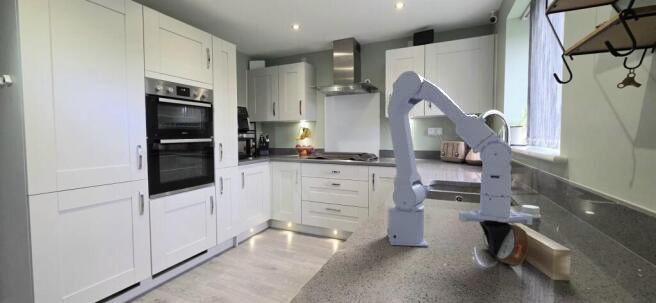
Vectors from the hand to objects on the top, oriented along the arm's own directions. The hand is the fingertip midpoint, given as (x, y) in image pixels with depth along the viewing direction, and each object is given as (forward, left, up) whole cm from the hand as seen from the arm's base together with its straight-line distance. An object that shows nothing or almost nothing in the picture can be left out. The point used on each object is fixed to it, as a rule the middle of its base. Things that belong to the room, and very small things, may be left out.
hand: (493, 253), depth 60 cm
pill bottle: (+17, +16, -2) cm, 24 cm away
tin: (+1, +1, -1) cm, 2 cm away
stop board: (+9, +4, -1) cm, 10 cm away
